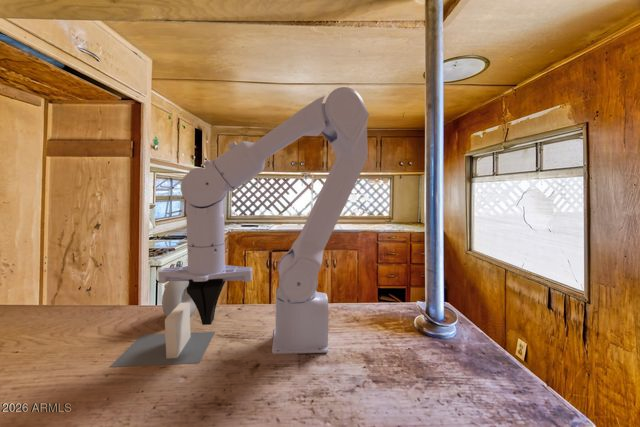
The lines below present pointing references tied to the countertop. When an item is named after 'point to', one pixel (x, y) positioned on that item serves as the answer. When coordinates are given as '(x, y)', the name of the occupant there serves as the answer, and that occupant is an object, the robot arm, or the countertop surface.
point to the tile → (177, 330)
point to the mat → (163, 351)
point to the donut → (176, 296)
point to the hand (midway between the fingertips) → (208, 321)
